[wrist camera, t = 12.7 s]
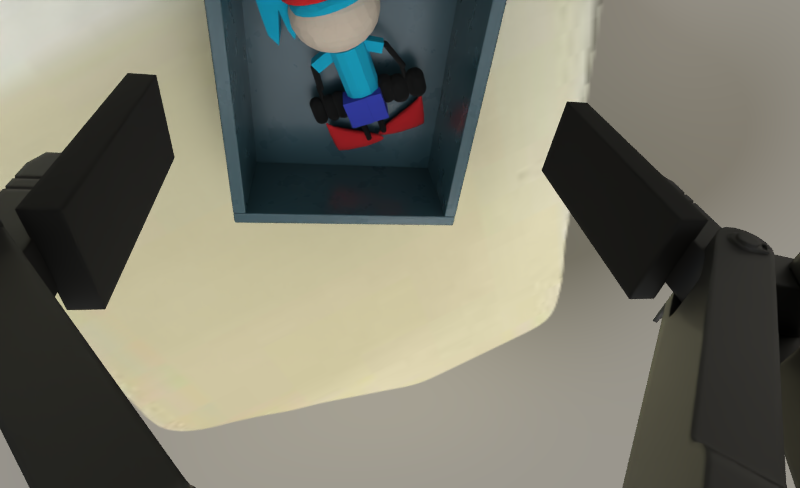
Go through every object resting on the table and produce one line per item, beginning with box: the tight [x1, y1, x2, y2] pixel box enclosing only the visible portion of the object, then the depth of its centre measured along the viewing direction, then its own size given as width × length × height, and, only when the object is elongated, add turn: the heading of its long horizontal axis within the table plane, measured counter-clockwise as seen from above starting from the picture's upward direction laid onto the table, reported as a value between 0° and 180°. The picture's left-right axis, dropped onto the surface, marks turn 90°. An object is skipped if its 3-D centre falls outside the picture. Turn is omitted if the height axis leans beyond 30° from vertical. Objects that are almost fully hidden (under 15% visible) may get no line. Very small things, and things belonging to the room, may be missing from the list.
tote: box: [204, 0, 507, 225], centre depth 24 cm, size 20×13×7 cm, turn 173°
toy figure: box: [255, 0, 427, 150], centre depth 25 cm, size 8×5×15 cm
